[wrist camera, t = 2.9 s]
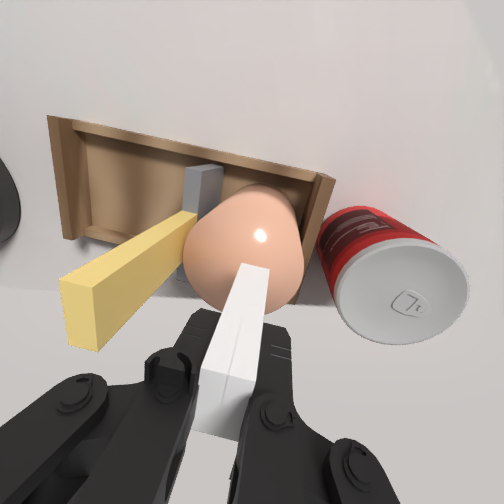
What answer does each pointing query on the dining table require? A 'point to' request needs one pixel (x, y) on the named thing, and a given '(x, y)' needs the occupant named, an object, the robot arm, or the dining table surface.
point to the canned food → (389, 277)
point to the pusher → (135, 266)
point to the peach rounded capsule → (246, 246)
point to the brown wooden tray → (159, 182)
